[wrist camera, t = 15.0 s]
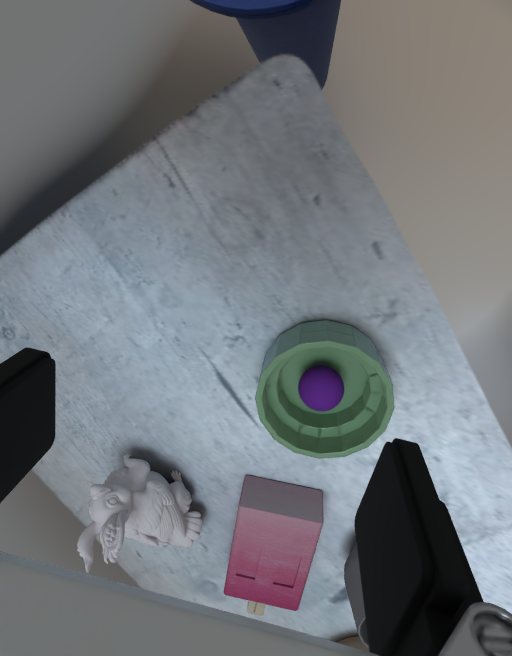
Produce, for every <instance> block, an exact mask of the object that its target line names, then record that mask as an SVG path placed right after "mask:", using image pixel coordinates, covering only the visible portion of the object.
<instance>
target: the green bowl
mask: <svg viewBox="0 0 512 656" xmlns="http://www.w3.org/2000/svg"><path fill="white" fill-rule="evenodd" d="M318 365H324V366H328V367H331V368H333V369H334V370H335V371H337V372H338V373H339V375H340V376H341V378H342V380H343V382H344V395H343V398H342V400H341V402H340V403H339V404H338V405H337V406H336V407H335V408H333V409H331V410H328V411H315V410H312V409H310V408H309V407H307V406H306V405H305V404H304V403H303V401H302V400H301V398H300V396H299V392H298V384H299V380H300V378H301V376H302V374H303V373H304V372H305V371H306V370H308V369H309V368H311V367H313V366H318ZM255 400H256V404H257V409H258V413H259V418H260V421H261V422H262V424H263V425H264V426H265V428H266V429H267V430H268V432H269V433H270V435H271V436H272V437H273V439H274V440H276V441H277V442H279V443H280V444H282V445H284V446H285V447H287V448H288V449H290V450H291V451H293V452H295V453H299V454H303V455H307V456H311V457H315V458H334V457H344V456H348V455H350V454H352V453H355V452H357V451H360V450H362V449H364V448H367V447H369V446H370V445H371V444H372V443H373V442H374V441H375V440H376V439H377V438H378V437H379V436H380V435H381V434H382V433H383V432H384V431H385V430H386V428H387V425H388V423H389V420H390V418H391V415H392V413H393V410H394V397H393V385H392V382H391V379H390V377H389V374H388V371H387V368H386V366H385V363H384V360H383V358H382V356H381V355H380V353H379V351H378V350H377V348H376V346H375V345H374V343H373V341H372V340H371V339H369V338H368V337H367V336H365V335H364V334H362V333H361V332H360V331H358V330H357V329H355V328H354V327H352V326H349V325H345V324H341V323H337V322H332V321H328V320H323V321H315V322H307V323H301V324H299V325H297V326H295V327H294V328H292V329H290V330H288V331H286V332H285V333H283V334H281V335H280V336H279V337H278V338H277V339H276V341H275V342H274V343H273V345H272V346H271V347H270V348H269V350H268V351H267V352H266V355H265V359H264V363H263V367H262V371H261V375H260V380H259V384H258V388H257V392H256V396H255Z"/></svg>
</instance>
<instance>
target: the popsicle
mask: <svg viewBox="0 0 512 656" xmlns="http://www.w3.org/2000/svg"><path fill="white" fill-rule="evenodd" d="M322 525H323V493H322V492H321V491H320V490H316V489H311V488H307V487H302V486H297V485H292V484H288V483H283V482H278V481H273V480H268V479H264V478H259V477H254V476H249V475H246V476H245V478H244V483H243V488H242V492H241V497H240V502H239V507H238V513H237V518H236V524H235V530H234V536H233V541H232V547H231V553H230V559H229V564H228V570H227V576H226V582H225V587H224V594H225V595H228V596H232V597H237V598H241V599H245V600H249V602H248V608H247V612H248V613H251V614H255V615H259V616H262V615H263V614H264V610H265V606H266V604H267V605H272V606H276V607H280V608H285V609H289V610H294V611H296V610H298V607H299V604H300V601H301V597H302V594H303V590H304V587H305V583H306V580H307V577H308V573H309V570H310V566H311V563H312V559H313V556H314V553H315V549H316V546H317V542H318V539H319V536H320V532H321V529H322Z"/></svg>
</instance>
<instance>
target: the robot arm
mask: <svg viewBox="0 0 512 656" xmlns="http://www.w3.org/2000/svg"><path fill="white" fill-rule="evenodd" d="M54 439H55V361H54V359H51V356H50V354H49V353H48V352H44V351H40V350H36V349H32V348H24V349H23V350H21V351H19V352H18V353H16V354H15V355H13V356H12V357H10V358H9V359H7V360H6V361H4V362H3V363H1V364H0V503H1V502H2V501H3V499H4V498H5V497H6V496H7V495H8V494H9V493H10V492H11V491H12V490H13V488H14V487H15V486H16V485H17V484H18V483H19V482H20V481H21V480H22V479H23V478H24V476H25V475H26V474H27V473H28V472H29V471H30V470H31V469H32V468H33V467H34V466H35V464H36V463H37V462H38V461H39V460H40V459H41V458H42V457H43V456H44V455H45V453H46V452H47V451H48V450H49V449H50V448H51V446H52V444H53V442H54ZM355 533H356V542H357V550H358V559H359V567H360V576H361V585H362V593H363V602H364V610H365V619H366V627H367V636H368V645H369V652H367V651H363V650H360V649H357V648H353V647H350V646H346V645H343V644H340V643H336V642H333V641H329V640H326V639H323V638H319V637H316V636H312V635H309V634H306V633H302V632H298V631H295V630H291V629H288V628H284V627H280V626H277V625H273V624H269V623H266V622H262V621H258V620H255V619H251V618H247V617H244V616H240V615H236V614H233V613H229V612H226V611H222V610H218V609H215V608H211V607H207V606H204V605H200V604H196V603H193V602H189V601H185V600H182V599H178V598H174V597H170V596H167V595H163V594H159V593H156V592H152V591H148V590H144V589H141V588H137V587H133V586H129V585H126V584H122V583H118V582H114V581H111V580H107V579H103V578H99V577H95V576H92V575H88V574H84V573H81V572H77V571H73V570H69V569H66V568H62V567H58V566H54V565H50V564H46V563H43V562H39V561H35V560H31V559H27V558H23V557H20V556H16V555H12V554H8V553H5V552H1V551H0V656H512V614H511V613H509V612H508V611H506V610H505V609H503V608H501V607H498V606H496V605H494V604H491V603H485V602H483V599H482V597H481V594H480V592H479V589H478V586H477V584H476V581H475V579H474V576H473V574H472V571H471V568H470V566H469V563H468V561H467V558H466V556H465V553H464V550H463V548H462V545H461V543H460V540H459V538H458V535H457V532H456V530H455V527H454V525H453V522H452V520H451V517H450V514H449V512H448V509H447V507H446V506H445V504H444V503H443V502H442V501H440V500H439V498H438V495H437V492H436V490H435V487H434V484H433V482H432V479H431V476H430V474H429V471H428V468H427V466H426V463H425V460H424V458H423V455H422V452H421V450H420V447H419V445H418V444H417V443H414V442H410V441H406V440H402V439H397V438H396V439H394V440H393V442H392V443H391V442H386V443H385V445H384V447H383V450H382V452H381V455H380V457H379V460H378V462H377V464H376V467H375V469H374V472H373V474H372V476H371V479H370V481H369V484H368V486H367V489H366V491H365V493H364V496H363V498H362V501H361V503H360V506H359V508H358V510H357V513H356V517H355Z"/></svg>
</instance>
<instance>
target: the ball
mask: <svg viewBox="0 0 512 656" xmlns="http://www.w3.org/2000/svg"><path fill="white" fill-rule="evenodd" d="M298 392H299V396H300V398H301V400H302V401H303V403H304V404H305V405H306V406H307V407H309V408H310V409H312V410H315V411H328V410H331V409H333V408H335V407H336V406H337V405H338V404H339V403H340V402H341V400H342V398H343V395H344V382H343V380H342V378H341V376H340V375H339V373H338V372H337V371H335V370H334V369H333V368H331V367H328V366H324V365H318V366H313V367H311V368H309V369H308V370H306V371H305V372H304V373H303V374H302V376H301V378H300V380H299V384H298Z"/></svg>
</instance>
